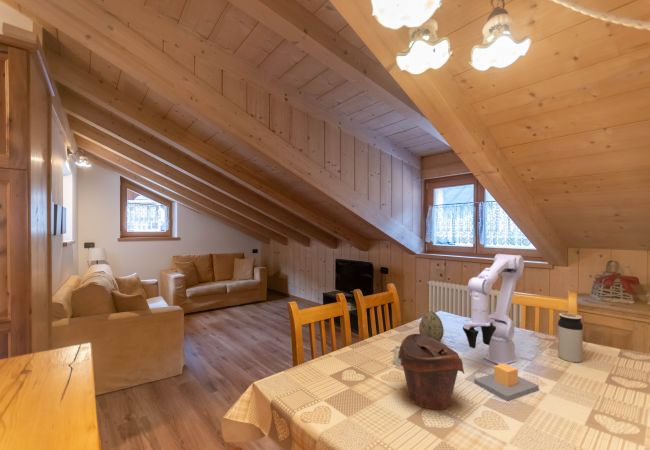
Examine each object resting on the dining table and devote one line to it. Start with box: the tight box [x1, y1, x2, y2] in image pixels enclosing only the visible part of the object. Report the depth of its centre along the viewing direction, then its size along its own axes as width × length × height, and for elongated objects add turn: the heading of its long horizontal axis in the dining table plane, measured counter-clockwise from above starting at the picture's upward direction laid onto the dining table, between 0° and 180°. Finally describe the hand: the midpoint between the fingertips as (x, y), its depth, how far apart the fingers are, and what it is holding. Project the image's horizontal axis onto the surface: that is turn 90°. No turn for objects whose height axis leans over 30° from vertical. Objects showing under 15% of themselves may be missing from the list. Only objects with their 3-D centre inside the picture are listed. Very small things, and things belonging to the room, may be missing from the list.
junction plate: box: [473, 373, 540, 402], centre depth 106 cm, size 16×12×5 cm
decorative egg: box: [418, 310, 445, 342], centre depth 144 cm, size 11×11×15 cm
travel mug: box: [557, 312, 584, 363], centre depth 129 cm, size 8×8×18 cm
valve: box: [393, 345, 403, 367], centre depth 124 cm, size 7×7×12 cm
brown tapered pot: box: [398, 333, 465, 411], centre depth 98 cm, size 18×20×18 cm
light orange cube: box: [493, 363, 519, 387], centre depth 106 cm, size 5×5×5 cm
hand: (479, 345), depth 118 cm, fingers open, 7 cm apart
